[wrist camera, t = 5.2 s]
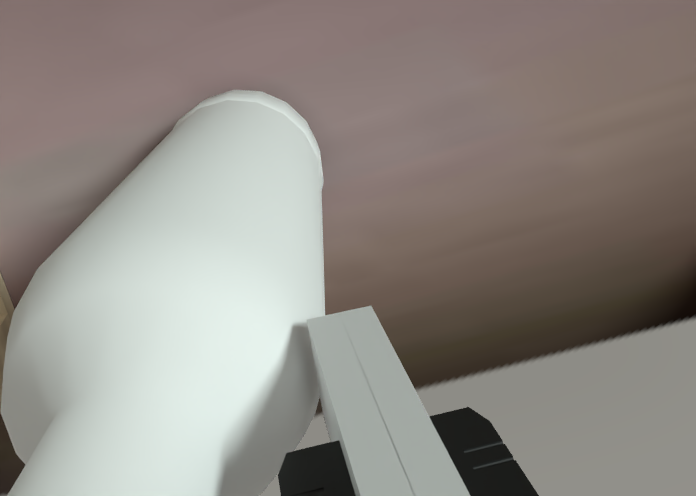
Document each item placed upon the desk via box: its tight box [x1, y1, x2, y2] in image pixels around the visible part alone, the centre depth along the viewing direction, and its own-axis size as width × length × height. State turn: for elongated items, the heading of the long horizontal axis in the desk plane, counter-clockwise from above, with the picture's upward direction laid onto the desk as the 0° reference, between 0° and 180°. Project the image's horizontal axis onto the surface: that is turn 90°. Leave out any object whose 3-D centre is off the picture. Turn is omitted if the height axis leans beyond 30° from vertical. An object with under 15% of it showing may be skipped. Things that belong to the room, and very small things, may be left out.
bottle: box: [1, 90, 325, 496], centre depth 20 cm, size 8×8×30 cm
